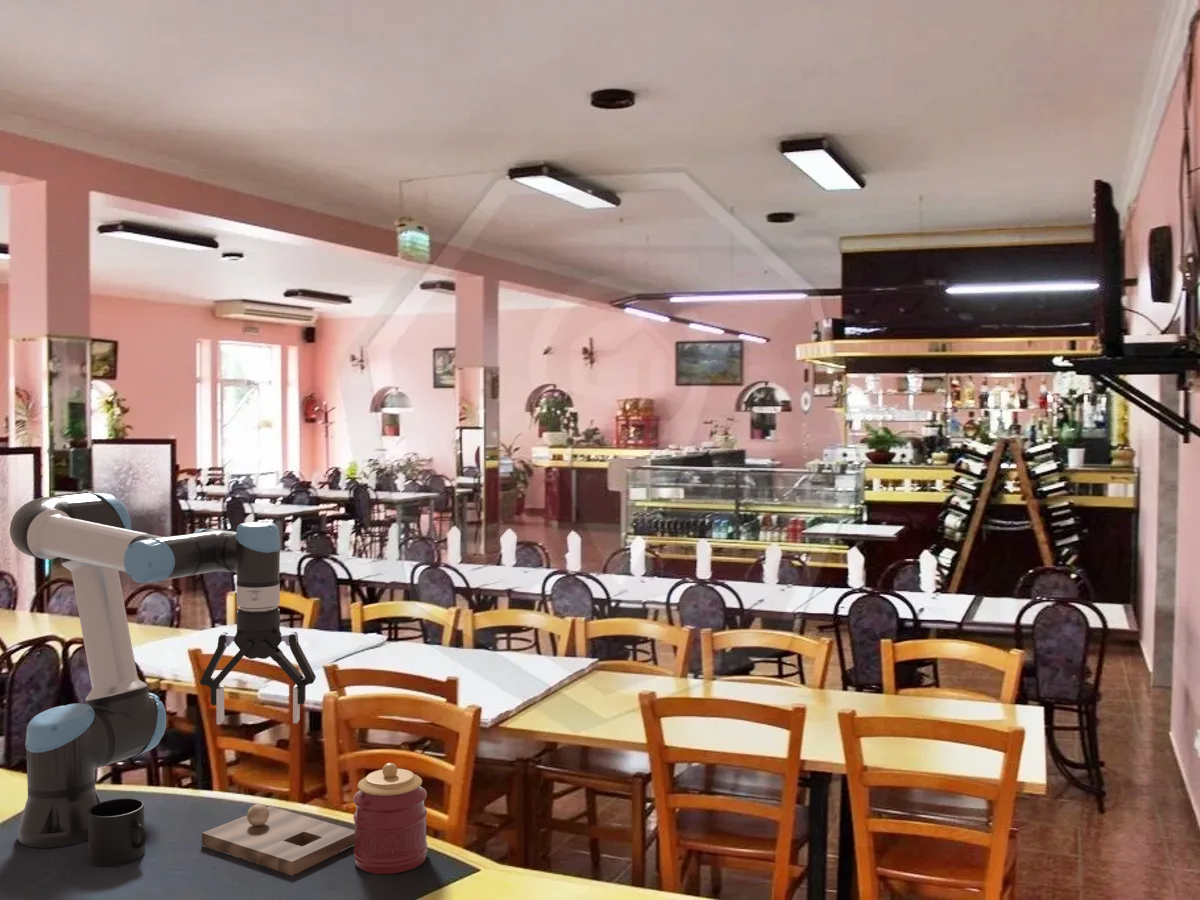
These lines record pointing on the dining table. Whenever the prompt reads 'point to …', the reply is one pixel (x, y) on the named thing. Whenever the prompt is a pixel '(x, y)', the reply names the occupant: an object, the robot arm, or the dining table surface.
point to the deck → (280, 840)
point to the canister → (390, 821)
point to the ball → (258, 815)
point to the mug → (116, 832)
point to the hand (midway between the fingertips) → (258, 721)
